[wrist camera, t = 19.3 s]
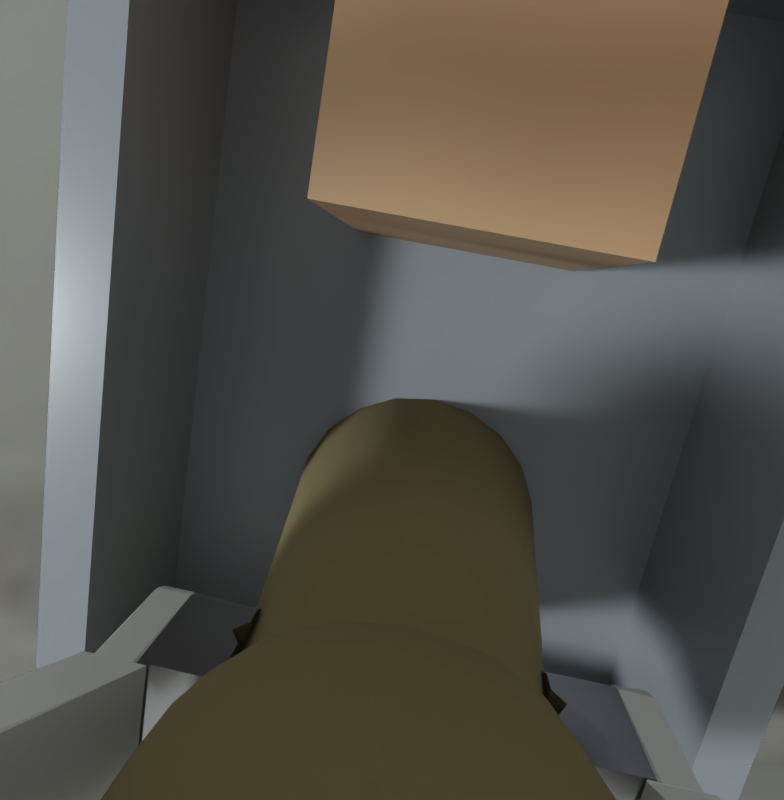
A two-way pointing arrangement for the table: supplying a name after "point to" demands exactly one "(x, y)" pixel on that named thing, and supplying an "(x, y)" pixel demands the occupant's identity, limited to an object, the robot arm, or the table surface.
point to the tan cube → (513, 123)
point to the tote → (412, 361)
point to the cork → (384, 638)
